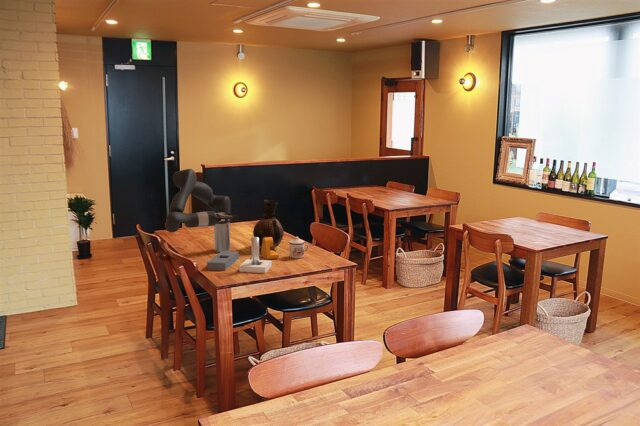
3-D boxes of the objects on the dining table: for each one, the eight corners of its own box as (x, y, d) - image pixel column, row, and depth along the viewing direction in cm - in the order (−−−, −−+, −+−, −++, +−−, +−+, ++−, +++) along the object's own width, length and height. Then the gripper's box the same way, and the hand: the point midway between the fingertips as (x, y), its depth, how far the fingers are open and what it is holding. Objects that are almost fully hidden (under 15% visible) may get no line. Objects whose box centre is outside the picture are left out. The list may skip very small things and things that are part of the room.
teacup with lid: (292, 259, 324) (292, 239, 322) (286, 255, 332) (286, 236, 330) (311, 257, 329) (311, 237, 327) (305, 253, 337) (305, 234, 335)
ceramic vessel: (247, 246, 353) (247, 199, 347) (272, 243, 362) (272, 196, 357) (263, 254, 335) (263, 204, 330) (289, 250, 345) (289, 201, 339)
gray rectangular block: (221, 257, 327) (221, 251, 326) (238, 258, 325) (238, 251, 324) (207, 269, 303) (207, 262, 303) (225, 270, 302) (225, 263, 301)
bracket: (279, 259, 325) (279, 238, 323) (267, 260, 322) (267, 239, 320) (273, 254, 335) (273, 234, 332) (261, 255, 332) (261, 235, 330)
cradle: (246, 264, 313) (246, 259, 313) (271, 265, 311) (271, 260, 311) (239, 271, 300) (239, 266, 299) (265, 273, 298) (265, 267, 297)
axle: (250, 268, 306) (250, 237, 303) (257, 267, 308) (256, 236, 305) (253, 270, 303) (253, 239, 300) (260, 269, 305) (260, 238, 302)
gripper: (210, 214, 279) (240, 211, 288) (200, 209, 291) (230, 206, 300) (210, 229, 281) (241, 225, 289) (200, 223, 293) (230, 220, 301)
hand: (235, 216), depth 294 cm, fingers open, 8 cm apart
